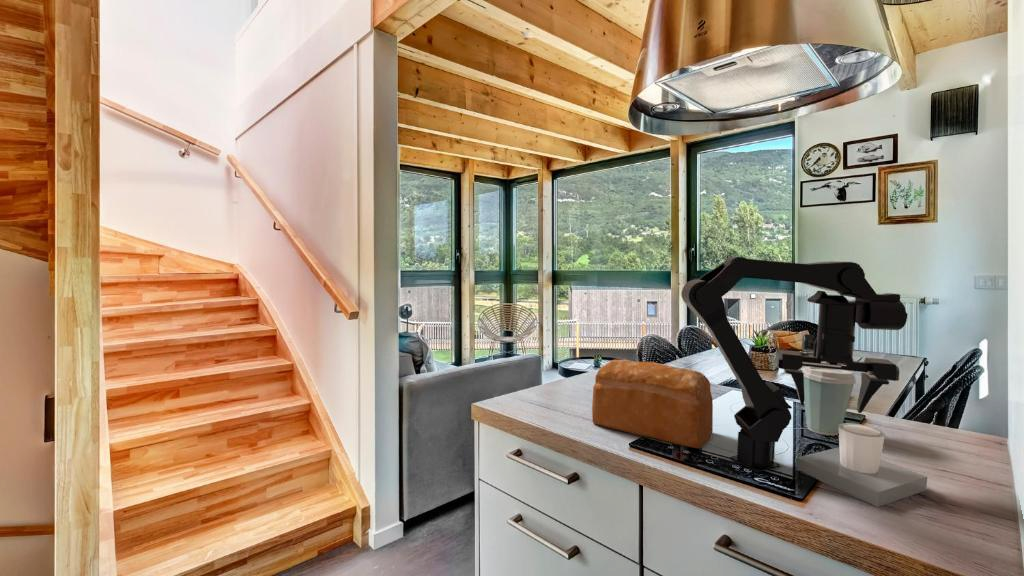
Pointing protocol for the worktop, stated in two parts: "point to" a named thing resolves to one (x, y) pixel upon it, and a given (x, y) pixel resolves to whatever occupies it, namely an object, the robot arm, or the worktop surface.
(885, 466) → the slate board
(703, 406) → the bread
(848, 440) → the white cup
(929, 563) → the worktop surface
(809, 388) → the disposable coffee cup
